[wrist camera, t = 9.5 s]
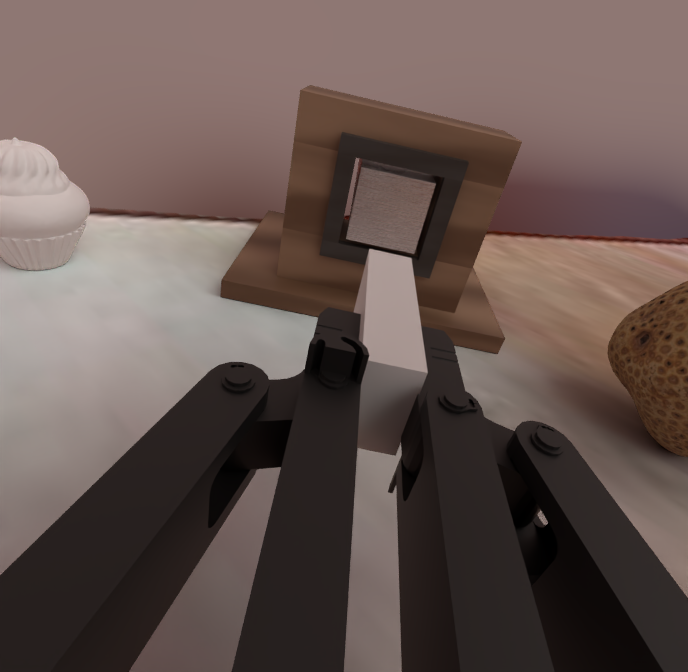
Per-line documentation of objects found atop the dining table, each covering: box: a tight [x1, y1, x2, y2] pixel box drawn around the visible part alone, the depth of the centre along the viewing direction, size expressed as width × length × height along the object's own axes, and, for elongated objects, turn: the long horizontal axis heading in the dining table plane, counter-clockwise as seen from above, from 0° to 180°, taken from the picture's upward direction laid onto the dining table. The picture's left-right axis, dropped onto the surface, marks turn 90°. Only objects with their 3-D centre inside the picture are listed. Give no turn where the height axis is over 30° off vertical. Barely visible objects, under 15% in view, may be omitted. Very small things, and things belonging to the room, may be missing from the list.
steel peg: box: [346, 158, 436, 254], centre depth 34 cm, size 22×4×4 cm, turn 176°
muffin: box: [0, 137, 90, 271], centre depth 25 cm, size 6×6×7 cm
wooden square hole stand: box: [221, 85, 522, 354], centre depth 31 cm, size 14×18×12 cm
